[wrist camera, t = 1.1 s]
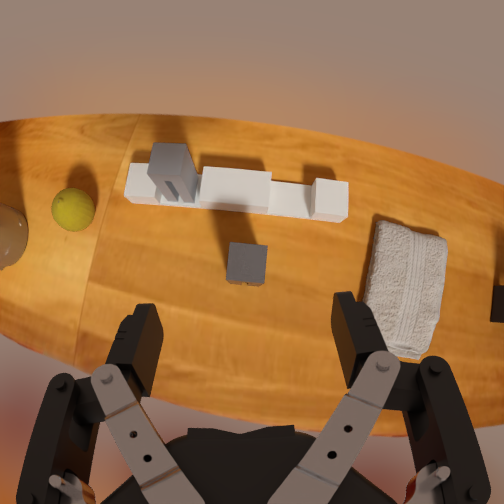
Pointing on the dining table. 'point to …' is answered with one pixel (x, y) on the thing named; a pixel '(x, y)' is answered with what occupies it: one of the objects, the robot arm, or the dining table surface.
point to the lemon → (73, 209)
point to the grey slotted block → (246, 264)
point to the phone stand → (498, 305)
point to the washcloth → (405, 286)
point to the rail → (230, 188)
